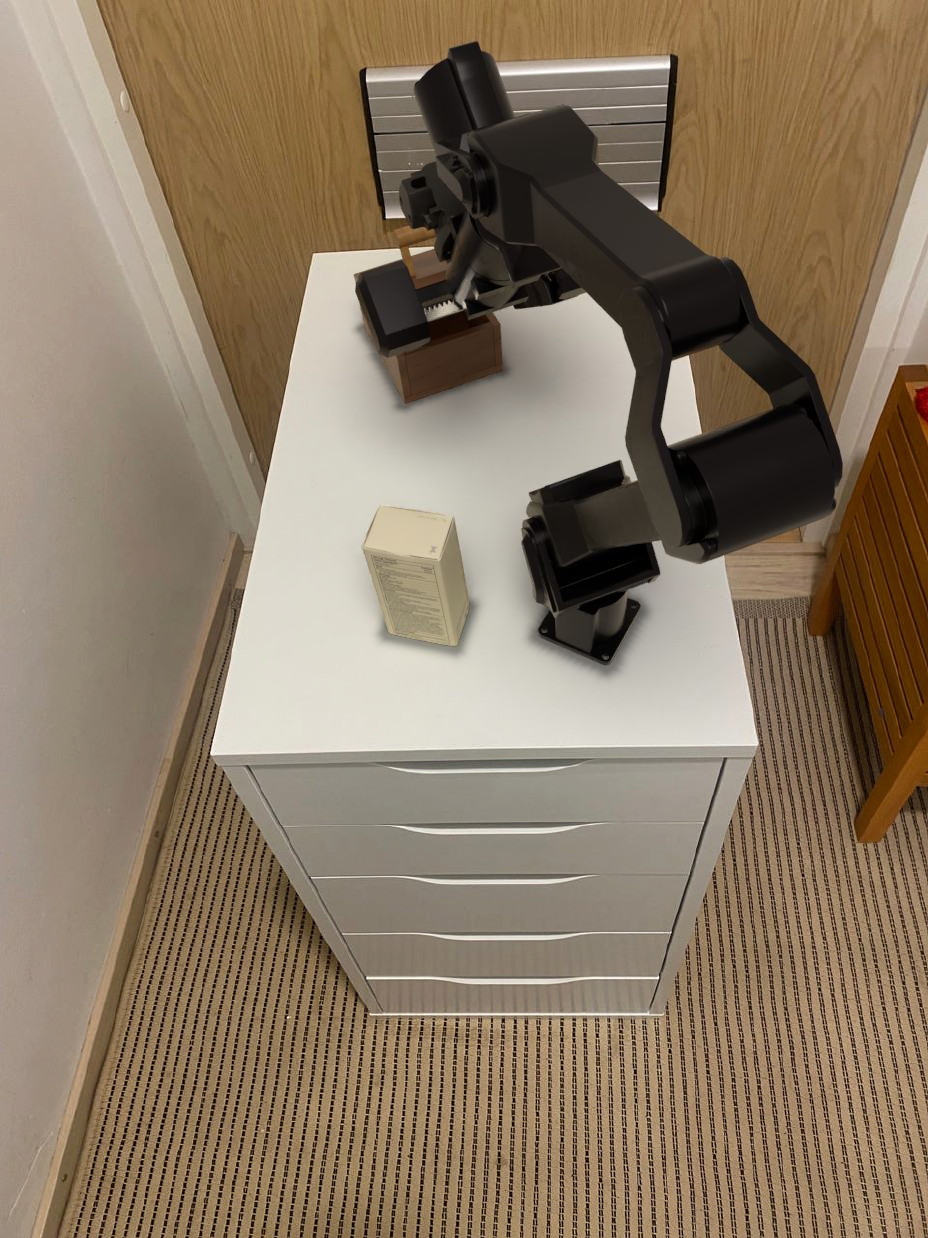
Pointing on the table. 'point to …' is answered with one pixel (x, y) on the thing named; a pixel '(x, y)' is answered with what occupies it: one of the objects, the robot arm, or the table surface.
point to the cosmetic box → (417, 573)
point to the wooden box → (447, 355)
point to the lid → (418, 257)
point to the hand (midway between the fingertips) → (465, 319)
